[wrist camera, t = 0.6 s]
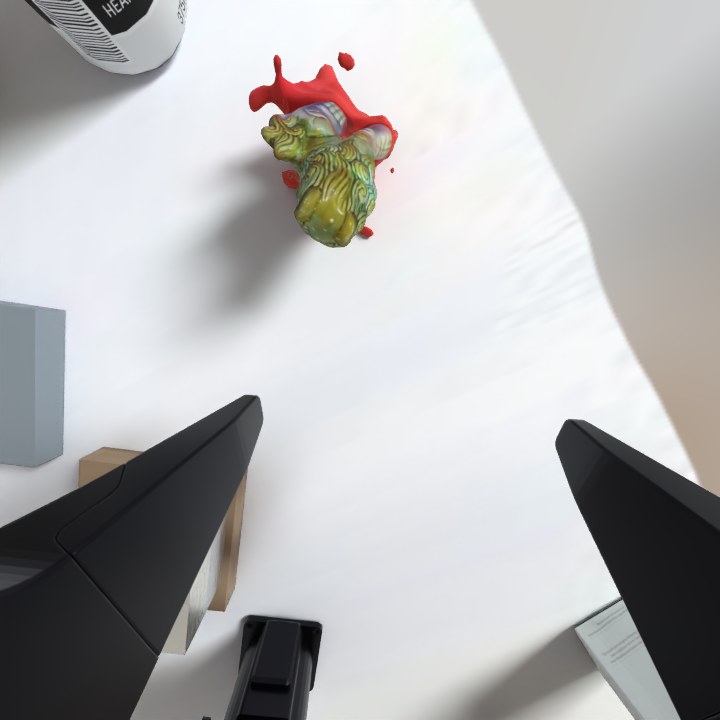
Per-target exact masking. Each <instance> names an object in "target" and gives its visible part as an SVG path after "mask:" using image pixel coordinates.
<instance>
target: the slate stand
mask: <svg viewBox="0 0 720 720" xmlns="http://www.w3.org/2000/svg"><path fill="white" fill-rule="evenodd" d="M64 353H65V310H59V309H52V308H45V307H39V306H32V305H25V304H18V303H12V302H5V301H0V463H3V464H12V465H20V466H28V467H36V466H39V465H41V464H43V463H45V462H47V461H49V460H51V459H54V458H56V457H58V456H60V455H62V454H63V409H64Z"/></svg>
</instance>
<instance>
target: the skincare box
mask: <svg viewBox="0 0 720 720" xmlns="http://www.w3.org/2000/svg"><path fill="white" fill-rule="evenodd" d="M575 631H576V633H577V635H578V637H579V638H580V640H581V642H582V643H583V645H584V647H585V648H586V650H587V651H588V653H589V655H590V656H591V658H592V659H593V661H594V662H595V664H596V666H597V667H598V669H599V671H600V672H601V674H602V675H603V677H604V678H605V680H606V681H607V682H608V684H609V685H610V686H611V688H612V689H613V690H614V692H615V693H616V694H617V696H618V697H619V699H620V700H621V701H622V703H623V704H624V705H625V707H626V708H627V709H628V711H629V712H630V713H631V715H632V716H633V717H634V719H635V720H680V718H679V716H678V714H677V711H676V709H675V707H674V705H673V703H672V701H671V699H670V697H669V695H668V693H667V691H666V689H665V687H664V684H663V682H662V680H661V678H660V676H659V674H658V672H657V670H656V668H655V666H654V664H653V662H652V660H651V657H650V655H649V653H648V651H647V649H646V647H645V645H644V643H643V641H642V639H641V637H640V635H639V633H638V630H637V628H636V626H635V624H634V622H633V620H632V618H631V616H630V614H629V612H628V610H627V608H626V605H625V603H624V601H623V600H621V601H619V602H618V603H616V604H615V605H613V606H611V607H610V608H608V609H606V610H605V611H603V612H601V613H600V614H598V615H596V616H595V617H593V618H591V619H590V620H588V621H586V622H584V623H583V624H581V625H580V626H578V627H576V628H575Z"/></svg>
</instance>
